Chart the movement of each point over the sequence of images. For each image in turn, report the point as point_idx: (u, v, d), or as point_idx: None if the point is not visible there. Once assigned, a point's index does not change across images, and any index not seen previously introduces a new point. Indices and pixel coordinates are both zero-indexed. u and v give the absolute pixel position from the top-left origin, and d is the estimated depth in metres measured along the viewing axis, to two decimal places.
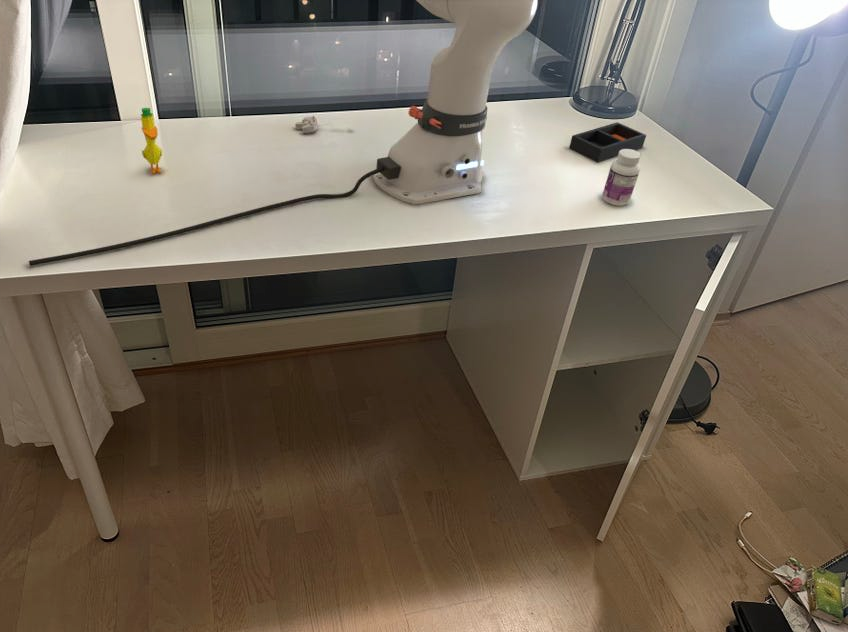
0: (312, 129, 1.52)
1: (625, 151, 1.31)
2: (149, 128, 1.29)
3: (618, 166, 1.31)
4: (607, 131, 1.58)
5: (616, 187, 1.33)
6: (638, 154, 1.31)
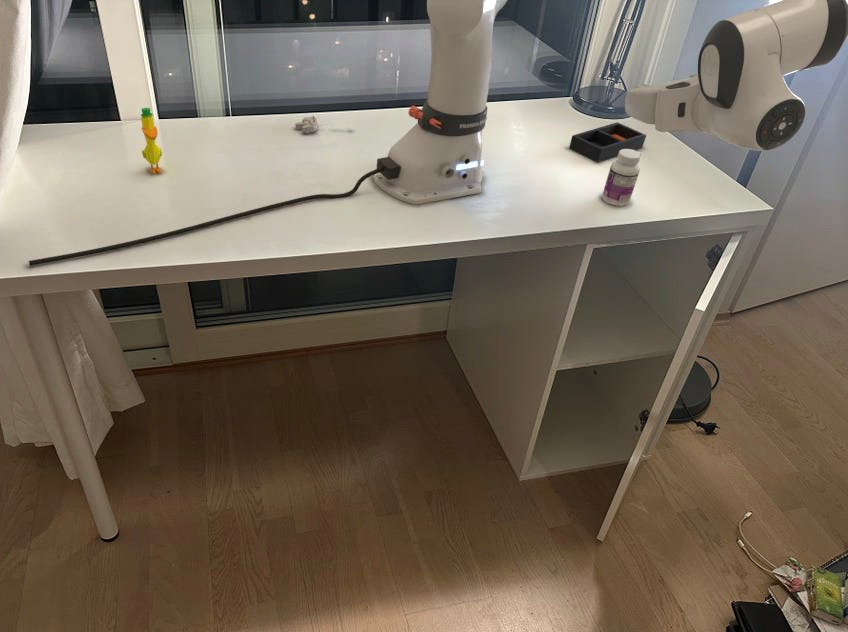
0: (312, 129, 1.52)
1: (625, 151, 1.31)
2: (149, 128, 1.29)
3: (618, 166, 1.31)
4: (607, 131, 1.58)
5: (616, 187, 1.33)
6: (638, 154, 1.31)
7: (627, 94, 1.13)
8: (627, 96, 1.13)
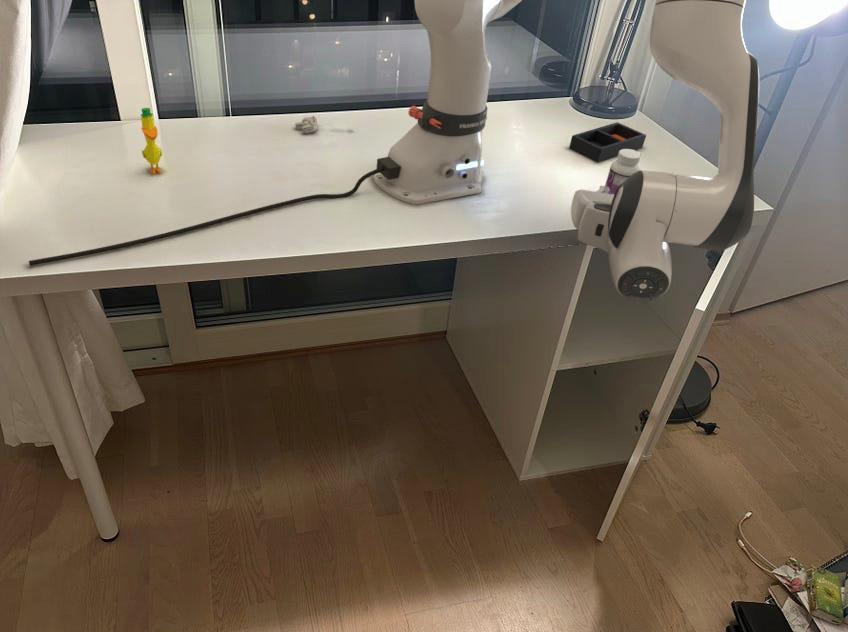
0: (312, 129, 1.52)
1: (625, 151, 1.31)
2: (149, 128, 1.29)
3: (618, 166, 1.31)
4: (607, 131, 1.58)
5: (616, 187, 1.33)
6: (638, 154, 1.31)
7: (574, 194, 1.20)
8: (574, 195, 1.20)
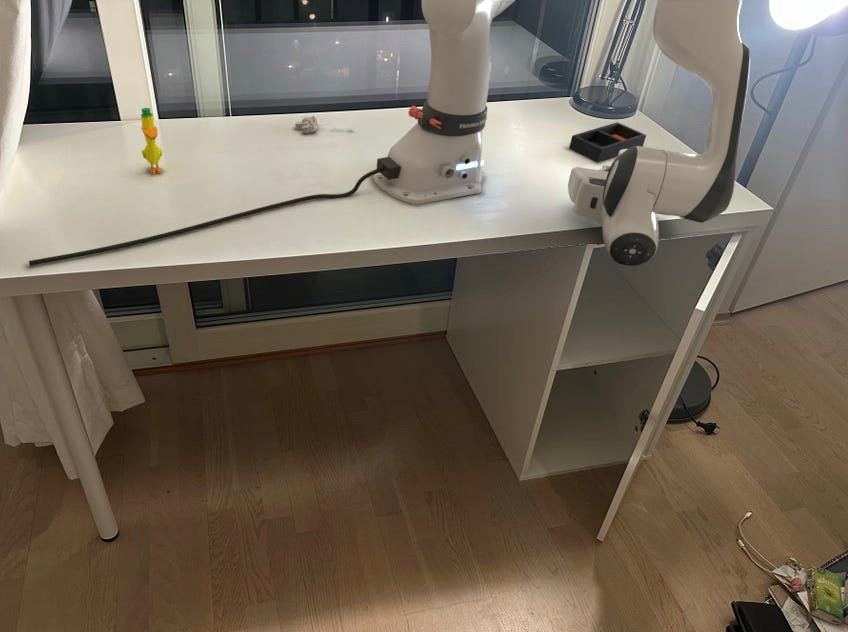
0: (312, 129, 1.52)
1: None
2: (149, 128, 1.29)
3: None
4: (607, 131, 1.58)
5: None
6: None
7: (571, 170, 1.30)
8: (571, 172, 1.30)
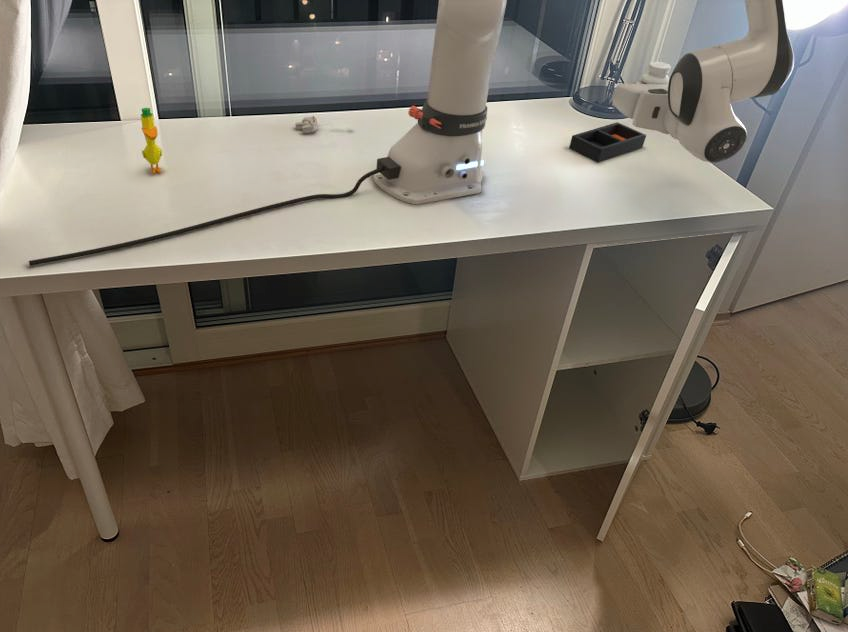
0: (312, 129, 1.52)
1: (655, 64, 1.36)
2: (149, 128, 1.29)
3: (652, 78, 1.36)
4: (607, 131, 1.58)
5: None
6: (667, 64, 1.36)
7: (617, 87, 1.33)
8: (616, 89, 1.33)
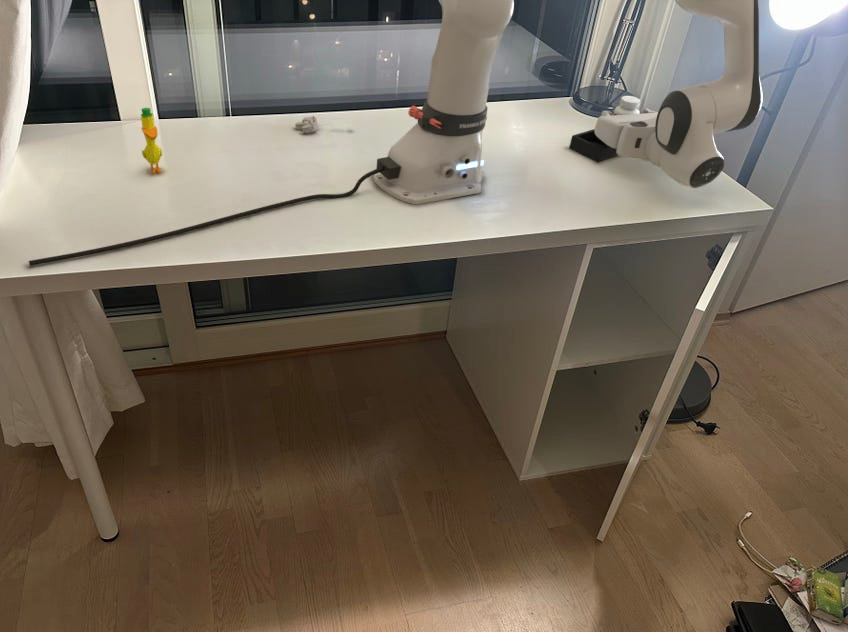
0: (312, 129, 1.52)
1: (626, 98, 1.51)
2: (149, 128, 1.29)
3: (625, 112, 1.51)
4: None
5: None
6: (636, 98, 1.51)
7: (598, 120, 1.46)
8: (598, 122, 1.46)
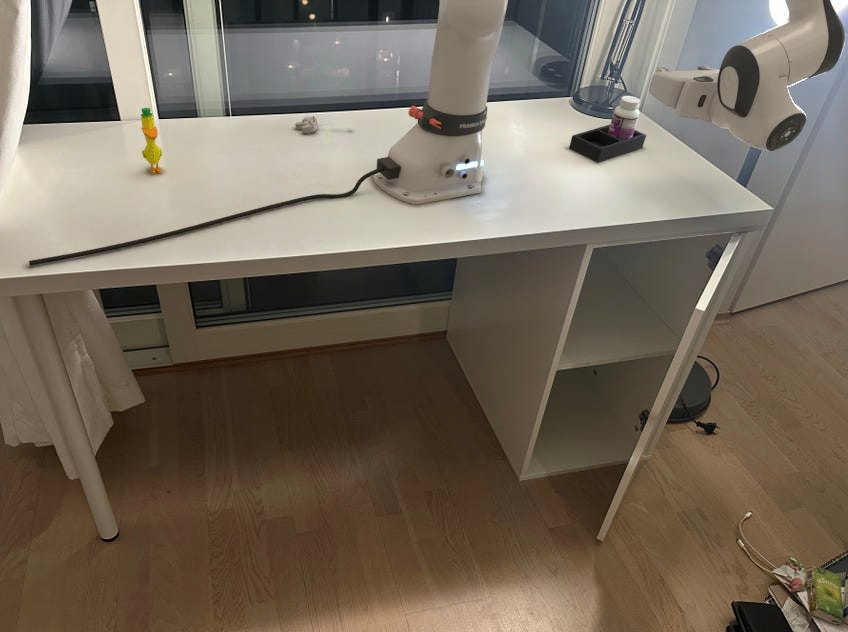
0: (312, 129, 1.52)
1: (626, 98, 1.51)
2: (149, 128, 1.29)
3: (625, 112, 1.51)
4: (607, 131, 1.58)
5: (625, 130, 1.53)
6: (636, 98, 1.51)
7: (655, 76, 1.28)
8: (654, 78, 1.28)
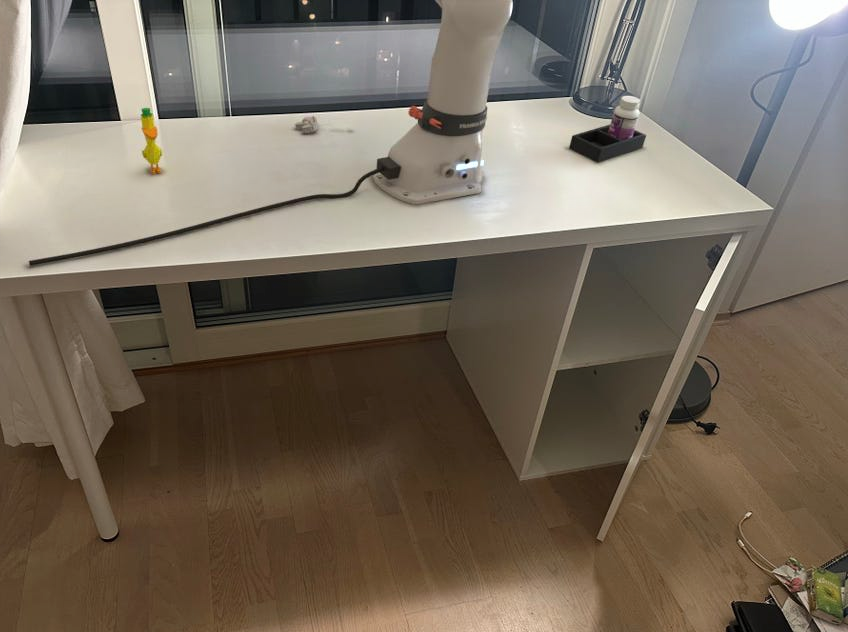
0: (312, 129, 1.52)
1: (626, 98, 1.51)
2: (149, 128, 1.29)
3: (625, 112, 1.51)
4: (607, 131, 1.58)
5: (625, 130, 1.53)
6: (636, 98, 1.51)
7: None
8: None
